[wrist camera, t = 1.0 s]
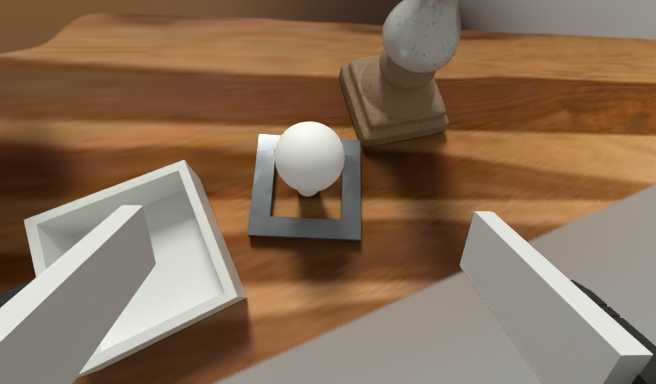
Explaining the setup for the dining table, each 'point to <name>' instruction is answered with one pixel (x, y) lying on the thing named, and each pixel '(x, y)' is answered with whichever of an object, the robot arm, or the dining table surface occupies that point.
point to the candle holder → (403, 74)
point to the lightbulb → (309, 157)
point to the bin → (169, 251)
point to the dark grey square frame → (305, 227)
